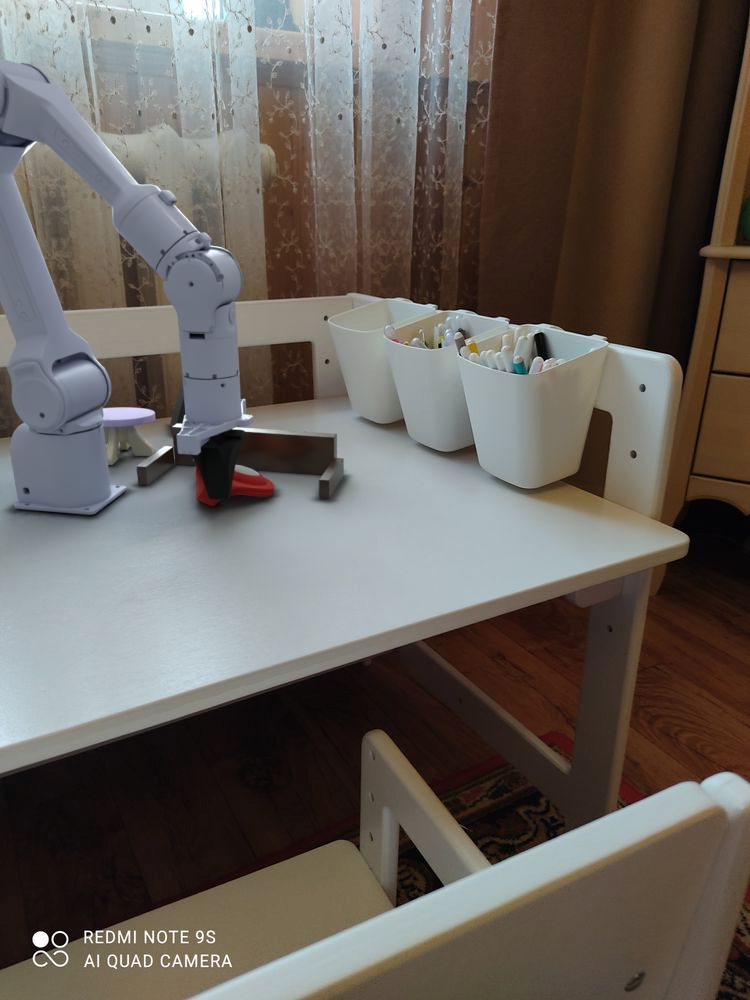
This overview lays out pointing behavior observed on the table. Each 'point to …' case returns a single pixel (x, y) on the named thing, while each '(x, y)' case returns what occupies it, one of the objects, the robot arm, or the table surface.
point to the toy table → (126, 431)
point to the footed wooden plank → (265, 456)
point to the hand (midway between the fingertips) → (219, 497)
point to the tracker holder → (238, 485)
